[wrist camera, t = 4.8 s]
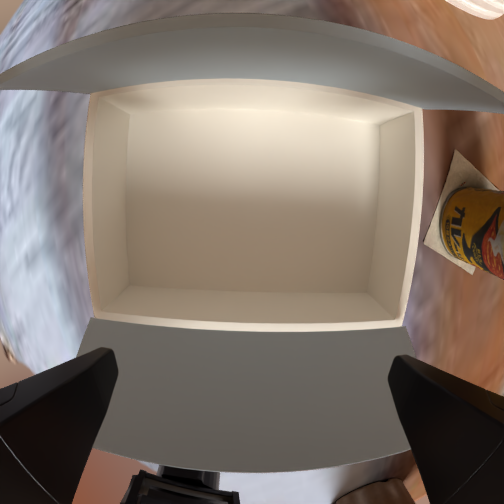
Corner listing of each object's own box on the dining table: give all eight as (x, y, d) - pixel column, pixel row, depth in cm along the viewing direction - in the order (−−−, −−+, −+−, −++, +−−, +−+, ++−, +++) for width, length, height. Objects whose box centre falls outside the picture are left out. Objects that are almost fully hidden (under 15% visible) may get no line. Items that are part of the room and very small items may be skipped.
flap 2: (405, 326, 14) (402, 330, 14) (90, 317, 13) (93, 321, 14) (437, 440, 8) (432, 442, 9) (55, 433, 8) (59, 435, 8)
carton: (370, 297, 19) (401, 328, 14) (126, 290, 19) (94, 319, 14) (383, 120, 16) (421, 104, 12) (126, 109, 16) (91, 89, 11)
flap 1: (88, 94, 11) (88, 86, 11) (424, 109, 11) (425, 102, 11) (-10, 90, 4) (-9, 79, 4) (523, 116, 5) (523, 106, 5)
